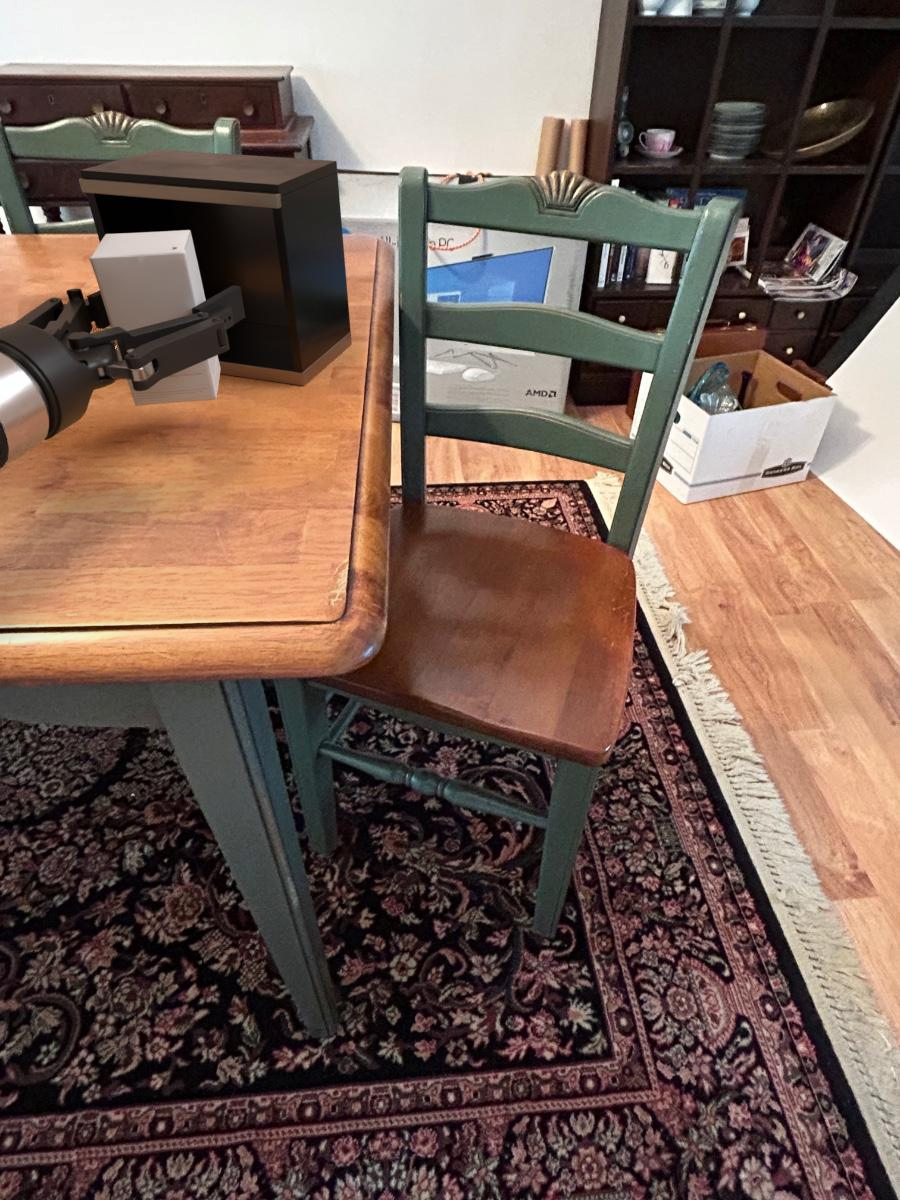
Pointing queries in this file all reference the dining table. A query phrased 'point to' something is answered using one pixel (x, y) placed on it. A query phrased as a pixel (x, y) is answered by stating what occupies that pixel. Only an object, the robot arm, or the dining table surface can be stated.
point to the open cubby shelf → (245, 246)
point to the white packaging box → (155, 301)
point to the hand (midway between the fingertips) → (189, 295)
